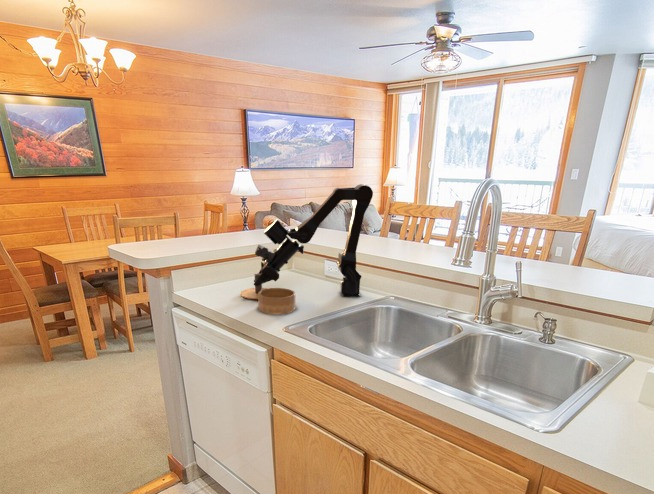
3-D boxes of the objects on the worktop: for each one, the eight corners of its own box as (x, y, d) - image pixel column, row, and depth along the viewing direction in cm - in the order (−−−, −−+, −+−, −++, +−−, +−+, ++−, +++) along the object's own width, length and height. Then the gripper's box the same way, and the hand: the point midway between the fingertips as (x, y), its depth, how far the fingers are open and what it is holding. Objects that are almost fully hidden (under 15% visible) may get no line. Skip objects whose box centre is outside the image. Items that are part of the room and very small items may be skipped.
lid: (275, 290, 170) (275, 269, 167) (277, 300, 158) (277, 278, 155) (241, 290, 169) (239, 270, 165) (240, 301, 157) (239, 279, 153)
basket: (282, 300, 158) (282, 286, 156) (302, 310, 149) (302, 294, 147) (252, 306, 151) (251, 291, 149) (270, 316, 142) (270, 300, 140)
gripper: (267, 233, 163) (238, 262, 167) (268, 242, 147) (237, 274, 150) (288, 254, 168) (260, 282, 171) (292, 265, 151) (261, 296, 154)
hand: (254, 283), depth 161 cm, fingers open, 4 cm apart
